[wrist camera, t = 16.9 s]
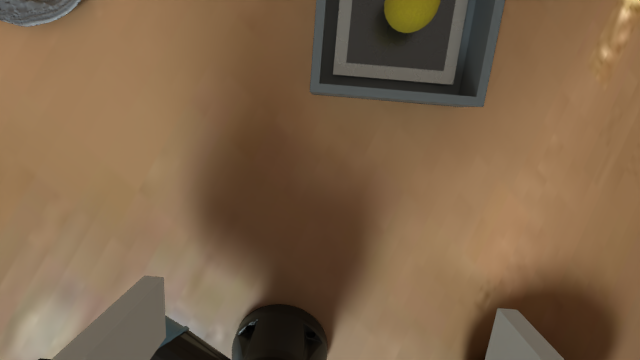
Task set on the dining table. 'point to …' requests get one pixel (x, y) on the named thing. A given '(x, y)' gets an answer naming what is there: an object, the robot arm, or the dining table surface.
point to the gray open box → (463, 93)
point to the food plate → (34, 11)
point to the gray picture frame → (398, 44)
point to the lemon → (410, 14)
